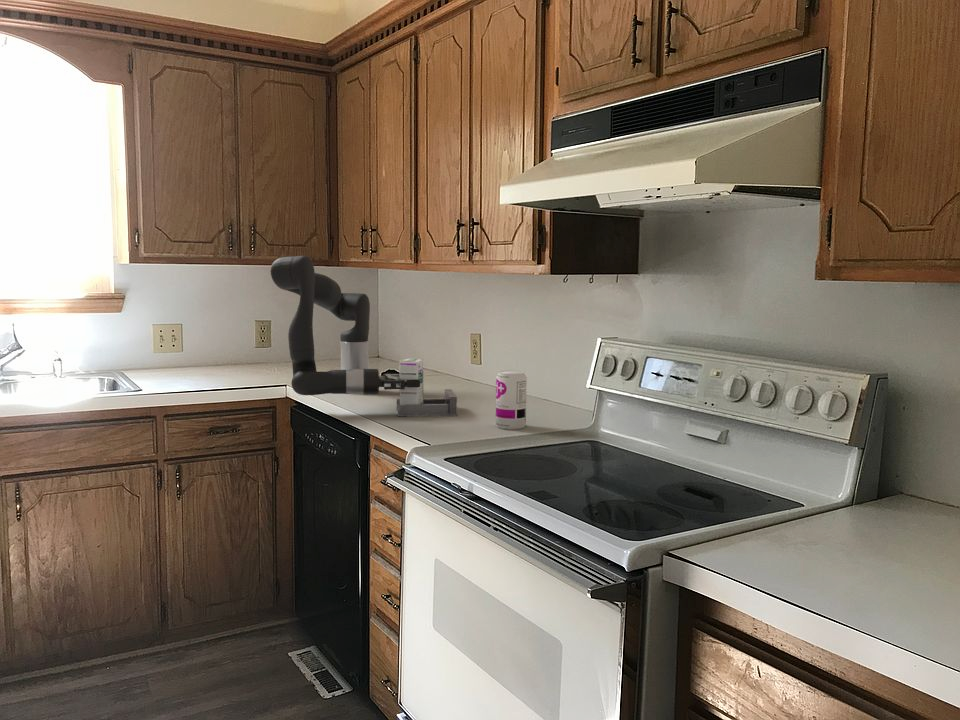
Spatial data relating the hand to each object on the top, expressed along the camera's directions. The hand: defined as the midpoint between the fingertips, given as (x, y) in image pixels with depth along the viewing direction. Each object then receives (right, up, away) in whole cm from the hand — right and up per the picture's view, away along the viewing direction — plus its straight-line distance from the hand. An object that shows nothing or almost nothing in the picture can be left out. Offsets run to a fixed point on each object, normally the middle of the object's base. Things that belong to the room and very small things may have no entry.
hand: (418, 381), depth 239 cm
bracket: (+2, -9, +1) cm, 9 cm away
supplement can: (+26, -12, -19) cm, 35 cm away
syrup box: (-2, -8, +1) cm, 9 cm away
